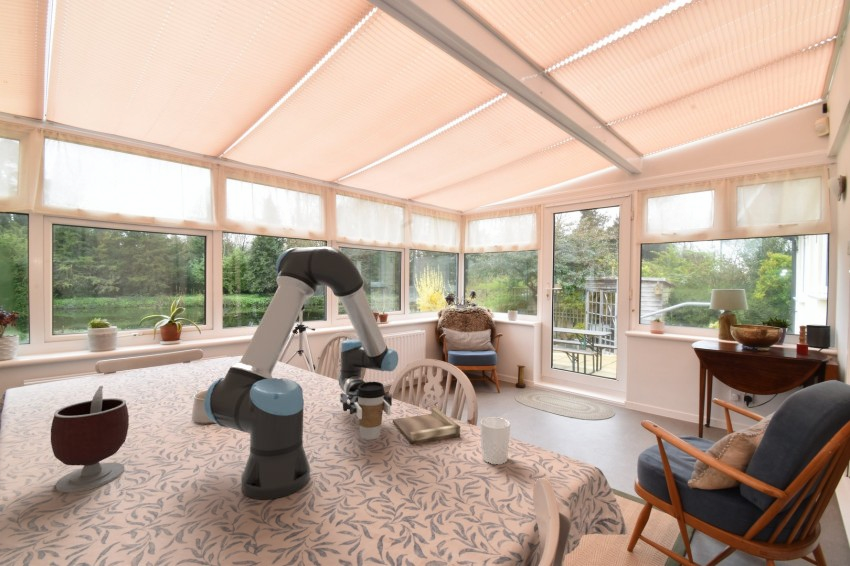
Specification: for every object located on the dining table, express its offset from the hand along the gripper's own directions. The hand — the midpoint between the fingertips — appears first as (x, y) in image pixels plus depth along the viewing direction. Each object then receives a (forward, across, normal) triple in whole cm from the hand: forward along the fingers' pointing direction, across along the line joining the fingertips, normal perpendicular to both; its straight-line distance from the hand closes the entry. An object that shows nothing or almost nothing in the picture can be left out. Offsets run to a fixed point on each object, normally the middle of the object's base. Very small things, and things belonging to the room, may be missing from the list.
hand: (375, 412), depth 105 cm
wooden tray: (-8, -19, -10) cm, 23 cm away
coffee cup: (-5, 0, -9) cm, 10 cm away
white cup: (+17, -29, -11) cm, 35 cm away
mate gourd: (-12, +67, -11) cm, 69 cm away
